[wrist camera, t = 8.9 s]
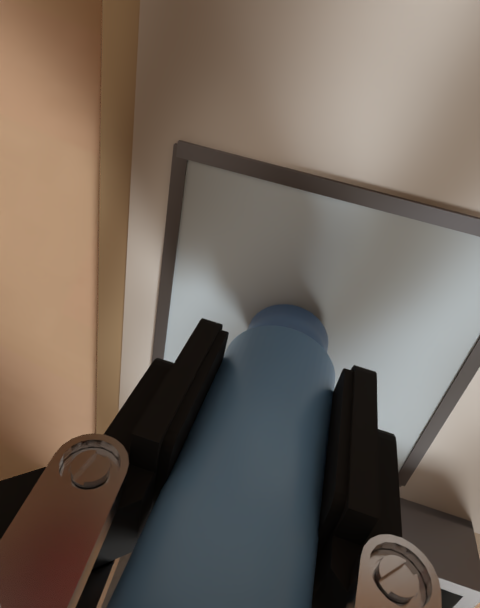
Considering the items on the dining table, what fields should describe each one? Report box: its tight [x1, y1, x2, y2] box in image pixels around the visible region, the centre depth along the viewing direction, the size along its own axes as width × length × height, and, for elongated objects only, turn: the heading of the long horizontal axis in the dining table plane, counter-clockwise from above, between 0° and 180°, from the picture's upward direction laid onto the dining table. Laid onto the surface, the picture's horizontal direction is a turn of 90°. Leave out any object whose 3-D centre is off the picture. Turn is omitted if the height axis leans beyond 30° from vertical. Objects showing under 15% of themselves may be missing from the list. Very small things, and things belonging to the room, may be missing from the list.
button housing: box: [400, 498, 480, 608], centre depth 17 cm, size 6×6×3 cm
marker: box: [107, 304, 335, 608], centre depth 9 cm, size 3×3×10 cm
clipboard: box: [96, 0, 480, 558], centre depth 13 cm, size 16×26×1 cm, turn 169°
